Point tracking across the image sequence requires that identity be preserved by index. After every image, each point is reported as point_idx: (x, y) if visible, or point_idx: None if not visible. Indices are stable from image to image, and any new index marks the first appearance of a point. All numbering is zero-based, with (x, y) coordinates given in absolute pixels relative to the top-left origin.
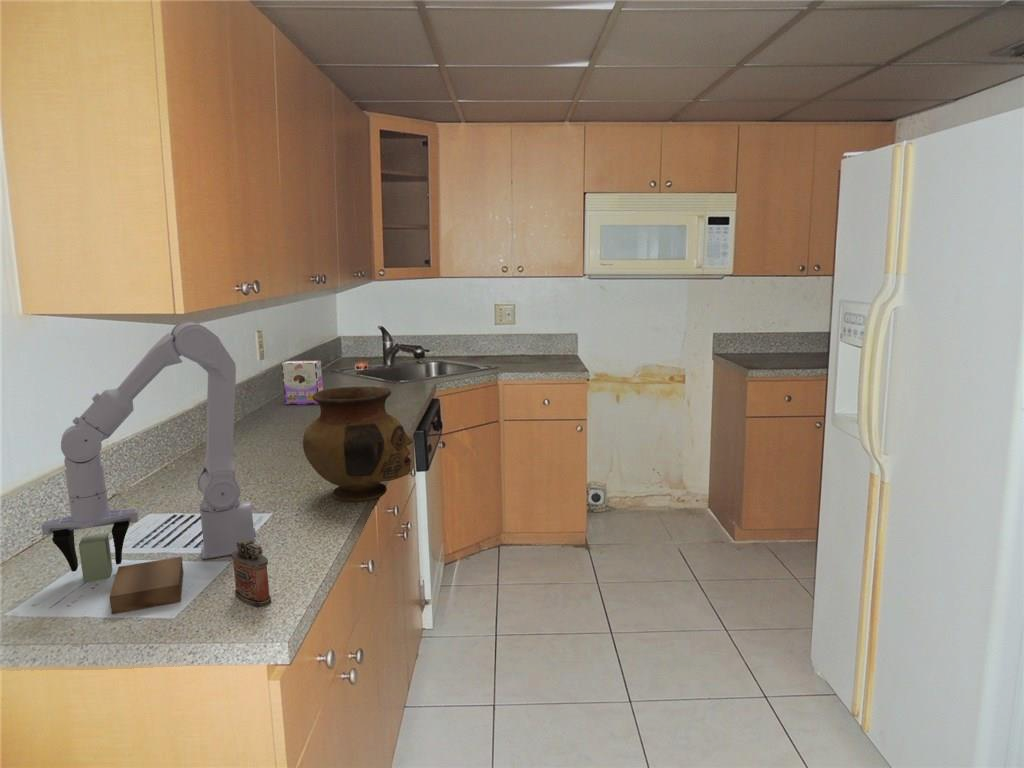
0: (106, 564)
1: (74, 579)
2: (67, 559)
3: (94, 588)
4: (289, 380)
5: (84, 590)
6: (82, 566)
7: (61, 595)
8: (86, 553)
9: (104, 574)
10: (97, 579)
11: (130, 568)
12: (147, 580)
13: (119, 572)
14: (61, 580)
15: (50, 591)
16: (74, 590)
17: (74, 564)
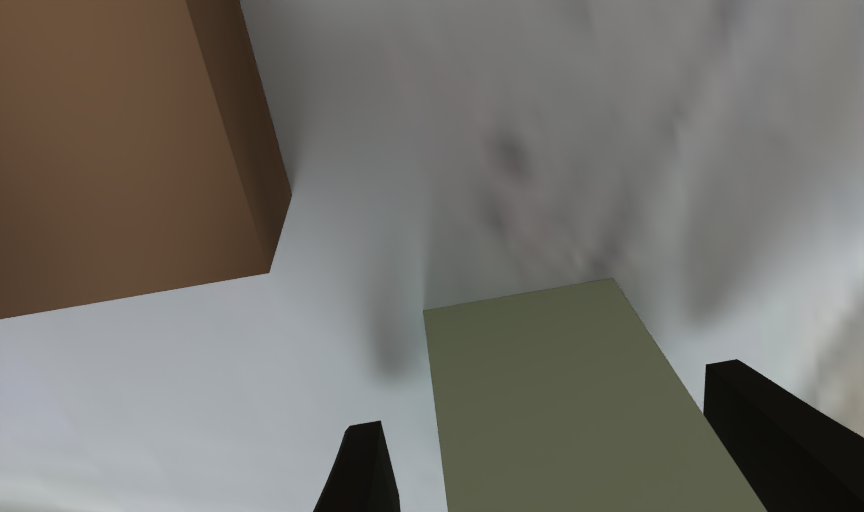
0: (446, 389)
1: (692, 348)
2: (844, 427)
3: (497, 139)
4: None
5: (576, 119)
6: (663, 366)
7: (756, 63)
8: (665, 476)
9: (463, 329)
10: (513, 297)
11: (87, 189)
12: None
13: (178, 96)
14: (781, 351)
15: (848, 175)
16: (661, 143)
17: (745, 399)
